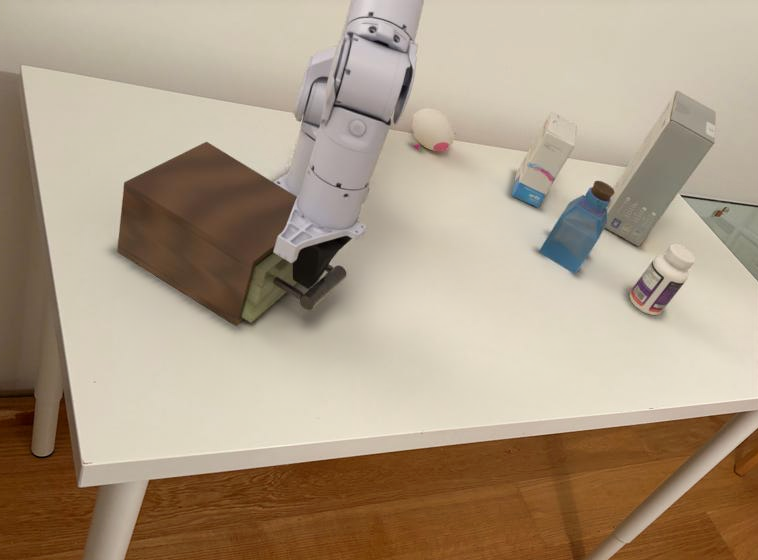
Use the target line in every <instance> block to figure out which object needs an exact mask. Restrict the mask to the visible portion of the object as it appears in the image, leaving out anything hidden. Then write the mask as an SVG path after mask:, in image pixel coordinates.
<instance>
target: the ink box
mask: <svg viewBox="0 0 758 560" xmlns="http://www.w3.org/2000/svg"><path fill="white" fill-rule="evenodd" d="M577 127H578V125H577V124H576V123H574V122H572V121H570V120H568V119H567V118H565V117H564V116H561V115H560V114H557V113H556V112H554V111H551V112H549V114H548V115H547V118H546V119H545V121H544V122H543V125H542V126H541V128H540V130H539V132H538V133H537V135H536V137H535V138H534V140H533V143H532V144H531V146H530V148H529V149H528V152H527V153H526V155H525V157H524V159H523V160H522V163H521V164H520V166H519V168H518V169H517V171H516V173H515V177H514V182H513V187H512V191H511V196H512V197H513V198H516V199H518V200H520V201H522V202H525V203H527V204H529V205H531V206H533V207H536V208H537V209H538V208H539V207H540V206H541V203H542V202H543V201H544V198H546V196H547V193H548V192H549V190H550V188H551V187H552V185H553V184H554V182H555V180H556V179H557V177H558V175H559V173H560V172H561V170H562V169H563V167H564V166H565V164H566V162H567V160H568V159H569V158H570V156H571V154H572V152H573V151H574V148H575V147H576V138H577V129H578V128H577Z"/></svg>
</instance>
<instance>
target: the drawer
mask: <svg viewBox="0 0 758 560" xmlns="http://www.w3.org/2000/svg"><path fill="white" fill-rule="evenodd" d="M325 271H326V272H327V273H326V274H325V275H323V277H320V278H319V280H318V281H317V282H316V283H315V284H314V285H313V286H312V287H311V288H310V289H307V291H305V293H304V292H303V291H301V290H299V289H298V288H296V287H294V286H296V285H297V284H298V283H297V282H296V281H294V280H293V263H290V262H288V261H287V260H285V259H283V258H281V257H280V256H279V255H277V254H275V253H272V254H271V255H270V256H268V257H267V258H266V259H264V260H263V261H262V262H261V263H259V264H258V265H257V266H255V269H254V272H253V276H252V280H251V283H250V287H249V291H248V294H247V298H246V302H245V305H244V309H243V313H242V316H241V317H242V318H244V319H243V320H245V321H247V322H249V323H251V324H252V323H253V322H254V321H255V320H257V319H258V318H259V317H260V316H261V315H263V313H265V312H266V311H267V310H268V309H269V308H270V307H271V306H273V305H274V304H275V303H276V302H277V301H279V300H280V298H282V297H283V296H284V295H286V293H288V294H289V295H291V296H293V297H294V298H296V299H297V300H299V305H300V306H301V308H303V309H304V310H306V311H311V310H313V309H314V308H315V307H316V306H317V305H319V303H320V302H321V301H322V300H323V299H325V298H326V297H327V295H329V294H330V293H331V292H332V291H333V290H334V289H335V288H337V286H338V285H339V284H340V283H342V282H343V280H345V278H346V277H347V270H346V269H345V268H344V267H343V266H342V265H335V266H333V265H331V264H329V265H328V266H327V268H326V269H325ZM325 271H324V272H325Z"/></svg>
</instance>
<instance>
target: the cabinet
mask: <svg viewBox="0 0 758 560" xmlns="http://www.w3.org/2000/svg"><path fill="white" fill-rule="evenodd" d="M296 199H297V196H295V195H293V194H292V193H290V192H288V191H287V190H285V189H284V188H282V187H280V186H279V185H277V184H275V183H274V181H272V180H270V179H269V178H267V177H266V176H263V174H261V173H260V172H258V171H255V170H254V169H253V168H251V167H249V166H248V165H246V164H244V163H242V162H241V161H239V160H238V159H236V158H234V157H233V156H231V155H229V154H228V153H226V152H224V151H223V150H221V149H220V148H218V147H217V146H215V145H213V144H211V143H210V142H208V141H205V142H203V143H201V144H198V145H197V146H194V147H192V148H191V149H189V150H186V151H185V152H182V153H180V154H178V155H176V156H174V157H172V158H170V159H168V160H166V161H164V162H162V163H160V164H158V165H156V166H154V167H152V168H150V169H148V170H146V171H144V172H142V173H140V174H137V175H136V176H134V177H132V178H129V179H128V180H125V181H124V182H123V191H122V200H121V208H120V209H121V210H120V218H119V219H120V220H119V230H118V238H117V239H118V240H117V248H116V249H117V250H116V251H117V253H119V254H120V255H122V256H124V257H125V258H127V260H128V259H129V260H130V261H132V262H133V263H135V264H136V265H138V266H139V267H141V268H143V269H145V270H146V271H147V272H149V273H151V274H152V275H154V276H155V277H157V278H159V279H160V280H162V281H164V282H165V283H167V284H169V285H170V286H171V287H173V288H175V289H176V290H178V291H179V292H181V293H182V294H184V295H186V296H187V297H189V298H190V299H192V300H194V301H195V302H197V303H198V304H201V306H203V307H205V308H207V309H208V310H210V311H212V312H213V313H214V314H216V315H218V316H219V317H221V318H223V319H224V320H226V321H227V322H229V323H230V324H232V325H234V326H235V327H236V326H238V325H239V324H240V323H242V322H243V320H245V319H244V318H242V317H241V316H242V313H243V309H244V305H245V302H246V298H247V294H248V291H249V287H250V283H251V280H252V276H253V272H254V269H255V266H256V264H258V263H259V262H260V261H262V260H263V259H264V258H265V257H267V256H268V255H269V254H271V253H272V252H273V251H274V248H275V244H276V240H277V237H278V235H279V234H281V233H282V232H283V230H284V229H285V227H286V223H287V221H288V219H289V217H290V214H291V211H292V209H293V206H294V204H295V201H296Z"/></svg>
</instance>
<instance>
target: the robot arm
mask: <svg viewBox="0 0 758 560" xmlns="http://www.w3.org/2000/svg"><path fill="white" fill-rule="evenodd" d="M424 3H425V0H350V2H349V6H348V9H347V14H346V18H345V20H344V25H343V28H342V31H341V35H340V39H339V40H338V43H337V44H336V45H334V46H330V47H327V48H324V49H319V50H317V51H315V52H313V53H312V55H311V56H310V57H309V59H308V62H307V66H306V69H305V70H304V72H303V77H302V80H301V83H300V86H299V87H300V88H299V91H298V95H297V99H296V102H295V106H294V111H293V117H295V120H296V121H297V122H300V123H301V124H300V129H299V134H298V137H297V141H296V144H295V148H294V150H293V154H292V157H291V158H292V159H291V161H290V165H289V170H288V171H287V173H285V174H284V175H282V176H281V177H279V178H277V179H276V180H274V181H273V182H274V183H275V184H277V185H279V186H280V187H282V188H284V189H285V190H287V191H288V192H290V193H292V194H293V195H295V196H297V199H296V201H295V204H294V206H293V209H292V211H291V214H290V217H289V219H288V221H287V223H286V227H285V229H284V230H283V232H282V233H281V234H279V235H278V237H277V240H276V244H275V248H274V251H273V252H274V253H275V254H277V255H279V256H280V257H281V258H283V259H285V260H287V261H288V262H290V263H293V280H294V281H296V282H297V284H299V285H301V286H302V287H304V288H305V289H307V290H309V289H310V288H311V287H313V286H314V285H315V284H316V283H317V282H318V281H319V280H320V279H321V278H322V276H323V274H324V273H325V269H326V268H327V266H328V265H330V263H331V261H333V259H334V257H336V256H337V254H338V253H339V251H340V250H342V249H343V248H344V246H346V245H347V244H348V243H350V242H351V240H359V239H360V238H361V237H363V235H365V232H366V229H367V227H366V225H365V224H364V223H362V222H360V221H359V218H360V215H361V210H362V207H363V205H364V204H365V202H366V200H367V196H368V194H369V193H370V187H369V186H370V183H371V181H372V177H373V175H374V172H375V169H376V167H377V164H378V161H379V159H380V157H381V156H380V155H381V153H382V150H383V148H384V145H385V142H386V139H387V137H388V134H389V131H390V128H391V126H392V123H393V124H394V125H397V124H398V122H399V121H400V119H401V117H402V115H403V113H404V111H405V109H406V107H407V104H408V102H409V99H410V96H411V93H412V89H413V86H414V81H415V77H416V69H417V59H418V56H417V52H418V48H419V44H418V43H417V42H416V39H417V38H416V37H417V35H418V30H419V25H420V21H421V16H422V13H423V8H424V5H425V4H424ZM392 116H393V119H392Z"/></svg>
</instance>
